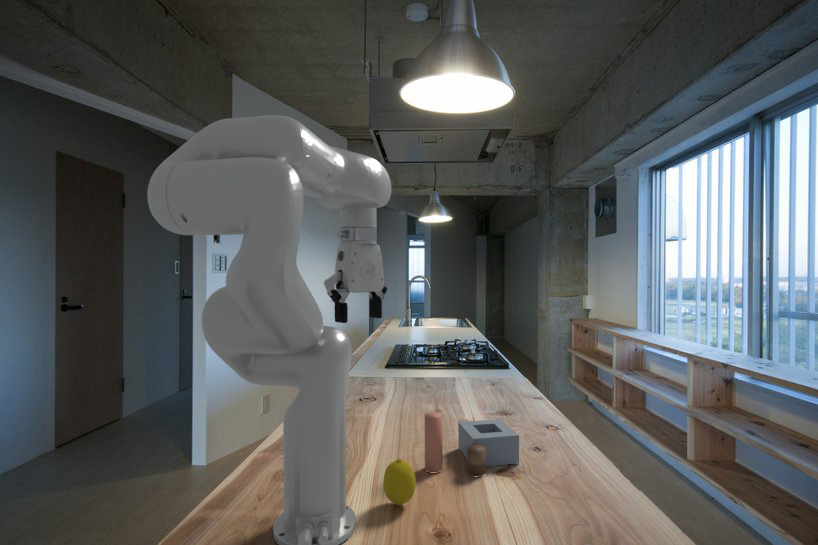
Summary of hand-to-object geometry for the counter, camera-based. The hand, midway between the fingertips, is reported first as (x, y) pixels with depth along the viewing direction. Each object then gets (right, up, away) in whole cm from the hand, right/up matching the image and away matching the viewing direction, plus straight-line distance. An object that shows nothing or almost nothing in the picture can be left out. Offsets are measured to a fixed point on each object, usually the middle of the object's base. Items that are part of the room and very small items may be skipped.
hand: (359, 319), depth 91 cm
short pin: (+24, -30, -4) cm, 38 cm away
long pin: (+15, -30, -3) cm, 34 cm away
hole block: (+27, -30, +4) cm, 41 cm away
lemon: (+9, -30, -16) cm, 35 cm away
